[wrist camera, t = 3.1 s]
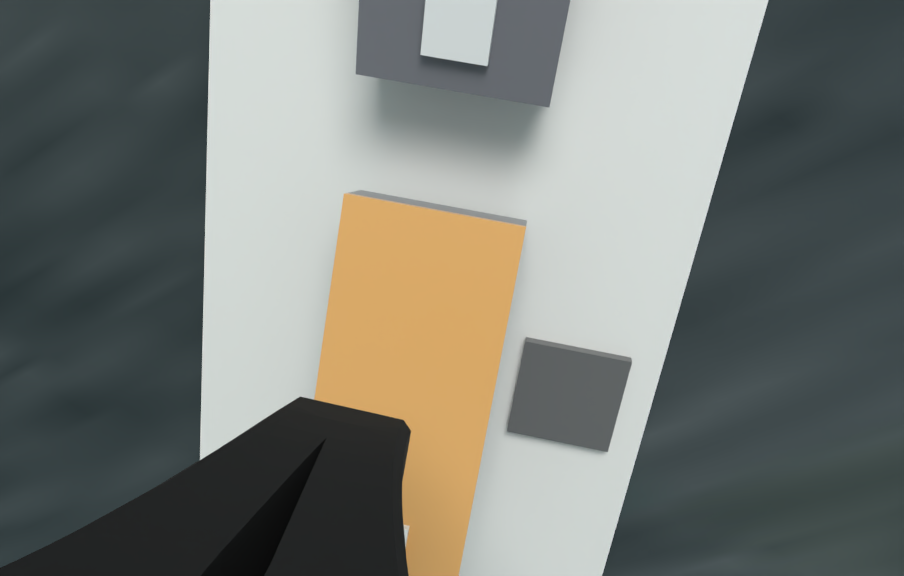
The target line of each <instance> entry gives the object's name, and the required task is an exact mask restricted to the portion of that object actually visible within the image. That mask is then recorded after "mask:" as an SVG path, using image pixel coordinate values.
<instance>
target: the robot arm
mask: <svg viewBox="0 0 904 576" xmlns="http://www.w3.org/2000/svg"><path fill="white" fill-rule="evenodd" d="M410 435H411V430H410V429H409V427H408V426H407V424H406V423H405V421H404V420H402V419H398V418H393V417H389V416H384V415H380V414H376V413H371V412H367V411H362V410H358V409H353V408H349V407H345V406H340V405H336V404H331V403H327V402H322V401H318V400H314V399H309V398H305V397H299V398H297V399H295V400H294V401H292V402H290V403H289V404H287V405H286V406H284V407H282V408H281V409H279V410H277V411H276V412H274V413H273V414H271V415H270V416H268V417H267V418H265V419H263V420H262V421H260V422H259V423H257V424H256V425H254V426H253V427H251V428H250V429H248V430H247V431H245V432H243V433H242V434H240V435H239V436H237V437H236V438H234V439H233V440H231V441H230V442H228V443H226V444H225V445H223V446H222V447H220V448H219V449H217V450H216V451H214V452H212V453H211V454H209V455H207V456H206V457H204V458H203V459H201V460H199V461H198V462H196V463H194V464H193V465H191V466H189V467H188V468H186V469H185V470H183V471H181V472H180V473H178V474H176V475H175V476H173V477H172V478H170V479H168V480H167V481H165V482H163V483H162V484H160V485H158V486H157V487H155V488H153V489H152V490H150V491H148V492H146V493H144V494H143V495H141V496H139V497H137V498H135V499H134V500H132V501H130V502H128V503H126V504H125V505H123V506H121V507H119V508H117V509H115V510H114V511H112V512H110V513H108V514H106V515H105V516H103V517H101V518H99V519H97V520H95V521H94V522H92V523H90V524H88V525H86V526H85V527H83V528H81V529H79V530H77V531H75V532H73V533H71V534H70V535H68V536H66V537H64V538H62V539H60V540H58V541H56V542H54V543H52V544H50V545H48V546H46V547H44V548H41V549H39V550H37V551H35V552H33V553H31V554H29V555H27V556H25V557H23V558H21V559H19V560H17V561H14V562H12V563H10V564H8V565H6V566H3V567H1V568H0V576H409V575H408V567H407V559H406V548H405V536H404V525H403V511H402V481H403V475H404V469H405V464H406V458H407V452H408V446H409V441H410Z"/></svg>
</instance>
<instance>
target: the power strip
mask: <svg viewBox="0 0 904 576" xmlns="http://www.w3.org/2000/svg"><path fill="white" fill-rule="evenodd" d="M767 3H768V0H570V5H569V10H568V15H567V20H566V25H565V30H564V35H563V40H562V46H561V51H560V56H559V61H558V66H557V71H556V76H555V81H554V86H553V92H552V97H551V102H550V107H543V106H537V105H532V104H526V103H520V102H514V101H508V100H503V99H497V98H491V97H485V96H479V95H473V94H468V93H462V92H456V91H450V90H444V89H439V88H433V87H427V86H421V85H415V84H410V83H404V82H398V81H392V80H386V79H380V78H375V77H369V76H363V75H357V74H356V54H357V33H358V11H359V0H210V42H209V86H208V130H207V173H206V217H205V261H204V304H203V348H202V392H201V435H200V460H201V459H203V458H204V457H206V456H207V455H209V454H211V453H212V452H214V451H216V450H217V449H219V448H220V447H222V446H223V445H225V444H226V443H228V442H230V441H231V440H233V439H234V438H236V437H237V436H239V435H240V434H242V433H243V432H245V431H247V430H248V429H250V428H251V427H253V426H254V425H256V424H257V423H259V422H260V421H262V420H263V419H265V418H267V417H268V416H270V415H271V414H273V413H274V412H276V411H277V410H279V409H281V408H282V407H284V406H286V405H287V404H289V403H290V402H292V401H294V400H295V399H297V398H299V397H305V398H309V399H314V397H315V391H316V384H317V377H318V370H319V363H320V356H321V349H322V342H323V335H324V328H325V321H326V314H327V307H328V300H329V293H330V286H331V279H332V272H333V266H334V259H335V252H336V245H337V238H338V231H339V224H340V217H341V210H342V203H343V196H344V193H349V192H354V191H358V190H364V191H370V192H375V193H381V194H386V195H392V196H397V197H402V198H408V199H413V200H419V201H424V202H430V203H435V204H440V205H446V206H451V207H457V208H462V209H467V210H473V211H478V212H484V213H489V214H495V215H500V216H505V217H511V218H516V219H522V220H527V225H526V230H525V235H524V241H523V246H522V251H521V256H520V261H519V266H518V272H517V277H516V282H515V287H514V292H513V297H512V303H511V308H510V313H509V318H508V323H507V328H506V334H505V339H504V344H503V349H502V354H501V359H500V365H499V370H498V375H497V380H496V385H495V390H494V395H493V401H492V406H491V411H490V416H489V421H488V426H487V432H486V437H485V442H484V447H483V452H482V457H481V463H480V468H479V473H478V478H477V483H476V488H475V494H474V499H473V504H472V509H471V514H470V519H469V525H468V530H467V535H466V540H465V545H464V550H463V555H462V561H461V566H460V571H459V576H602V574H603V571H604V567H605V564H606V560H607V557H608V553H609V550H610V546H611V543H612V539H613V536H614V532H615V529H616V526H617V522H618V519H619V515H620V512H621V508H622V505H623V501H624V498H625V494H626V491H627V488H628V484H629V481H630V477H631V474H632V470H633V467H634V463H635V460H636V456H637V453H638V449H639V446H640V443H641V439H642V436H643V432H644V429H645V425H646V422H647V418H648V415H649V411H650V408H651V404H652V401H653V398H654V394H655V391H656V387H657V384H658V380H659V377H660V373H661V370H662V366H663V363H664V360H665V356H666V353H667V349H668V346H669V342H670V339H671V335H672V332H673V328H674V325H675V321H676V318H677V315H678V311H679V308H680V304H681V301H682V297H683V294H684V290H685V287H686V283H687V280H688V277H689V273H690V270H691V266H692V263H693V259H694V256H695V252H696V249H697V245H698V242H699V238H700V235H701V232H702V228H703V225H704V221H705V218H706V214H707V211H708V207H709V204H710V200H711V197H712V194H713V190H714V187H715V183H716V180H717V176H718V173H719V169H720V166H721V162H722V159H723V155H724V152H725V149H726V145H727V142H728V138H729V135H730V131H731V128H732V124H733V121H734V117H735V114H736V111H737V107H738V104H739V100H740V97H741V93H742V90H743V86H744V83H745V79H746V76H747V72H748V69H749V66H750V62H751V59H752V55H753V52H754V48H755V45H756V41H757V38H758V34H759V31H760V28H761V24H762V21H763V17H764V14H765V10H766V7H767Z"/></svg>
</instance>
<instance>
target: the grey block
mask: <svg viewBox="0 0 904 576" xmlns="http://www.w3.org/2000/svg"><path fill="white" fill-rule="evenodd" d="M569 5H570V0H359V11H358V33H357V54H356V74H357V75H363V76H369V77H375V78H380V79H386V80H392V81H398V82H404V83H410V84H415V85H421V86H427V87H433V88H439V89H444V90H450V91H456V92H462V93H468V94H473V95H479V96H485V97H491V98H497V99H503V100H508V101H514V102H520V103H526V104H532V105H537V106H543V107H550V102H551V97H552V92H553V86H554V81H555V76H556V71H557V66H558V61H559V56H560V51H561V46H562V40H563V35H564V30H565V25H566V20H567V15H568V10H569Z"/></svg>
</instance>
